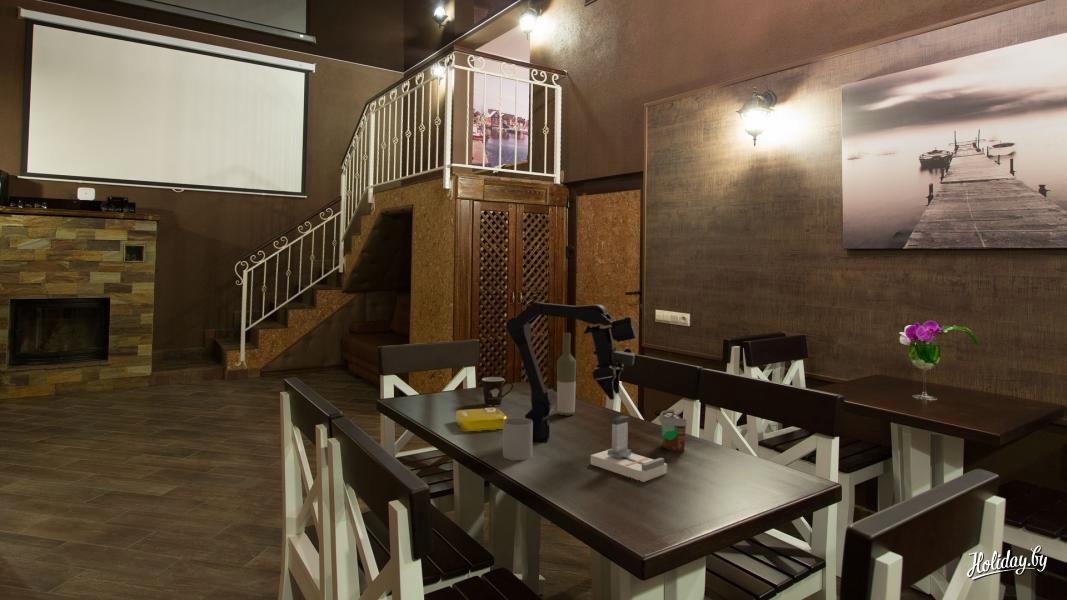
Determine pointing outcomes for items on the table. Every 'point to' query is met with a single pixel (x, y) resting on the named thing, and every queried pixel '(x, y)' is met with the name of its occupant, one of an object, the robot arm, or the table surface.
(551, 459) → the table surface
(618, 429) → the fader
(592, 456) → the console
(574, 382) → the bottle
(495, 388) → the coffee mug
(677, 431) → the food container
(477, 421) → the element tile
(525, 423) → the cup
